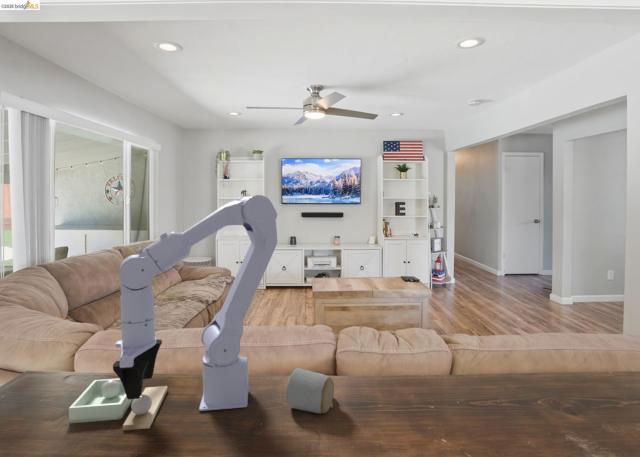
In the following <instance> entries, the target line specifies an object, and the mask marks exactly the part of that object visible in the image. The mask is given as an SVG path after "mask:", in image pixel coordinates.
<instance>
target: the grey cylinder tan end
mask: <svg viewBox="0 0 640 457" xmlns="http://www.w3.org/2000/svg"><path fill="white" fill-rule="evenodd" d="M334 393H335V382H334V379H333V378H332V377H331V376H329V375H326V374H323V373H319V372H315V371H311V370H307V369H304V368H301V367H296V368H295V369H294V370H293V371H292V373H290V376H289V378H288V383H287V384H286V393H285V400H286V405H287V407H289V408H290V409H295V410H299V411H305V412H310V413H314V414H322V415H323V414H326V413H327V412H328V411H329V410H330V408H331V406H332V403H333V398H334Z"/></svg>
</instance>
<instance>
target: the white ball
mask: <svg viewBox="0 0 640 457" xmlns="http://www.w3.org/2000/svg"><path fill="white" fill-rule="evenodd" d="M119 391H120V384H119V383H118V382H117V381H115V380H109V381H107V382H105V383H104V384H103V385H102V387H101V394H102V396H103V397H104V398H113V397H115V396H116V395H117V394H118V393H119Z"/></svg>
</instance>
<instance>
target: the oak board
mask: <svg viewBox="0 0 640 457" xmlns="http://www.w3.org/2000/svg"><path fill="white" fill-rule="evenodd" d="M168 388H169V387H168V385H161V386H148V387H145V388H144V389H143V390H142V392H141V395H142V394H145V395H148V396H149V397H150V398H151V400H152V406H151V408H150V410H149V411H148V412H147V413H145V414H143V415H137V414H135V413H134V412H133V411H132V410H131V411H130V413H129V414H128V416H127V418H126V419H125V421H124V423H123V424H122V431H132V430H143V429H144V430H145V429H151V426H152V425H153V422H154V420H155V418H156V416H157V413H158V411H159V409H160V407H161V405H162V403H163V401H164V399H165V397H166V396H167V393H168V391H169V389H168Z"/></svg>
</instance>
